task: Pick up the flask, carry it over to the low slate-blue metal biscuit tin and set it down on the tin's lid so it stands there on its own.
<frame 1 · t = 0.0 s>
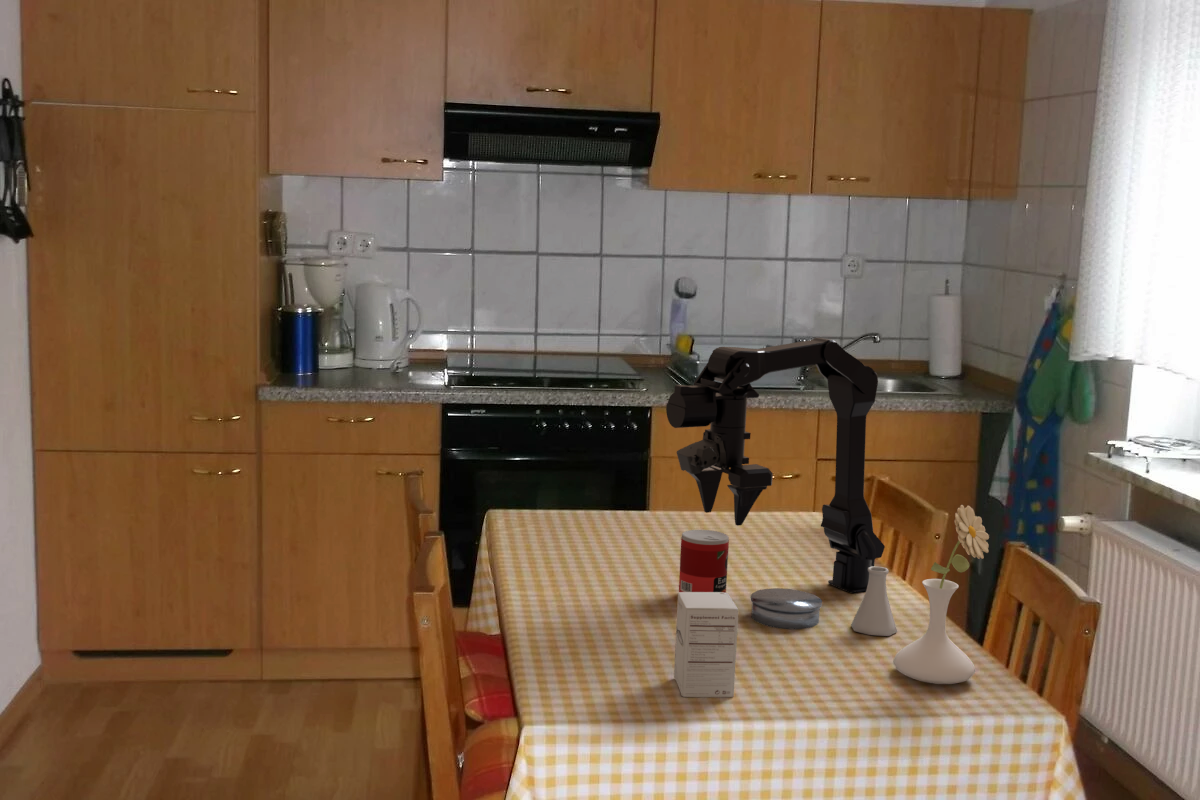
hand: (722, 518, 214), 15 cm above the table, fingers open, 9 cm apart
supplement box: (703, 689, 178), on the table
biscuit tin: (784, 619, 210), on the table
flask: (873, 631, 206), on the table
canned food: (701, 599, 219), on the table
flower in vase: (937, 677, 186), on the table
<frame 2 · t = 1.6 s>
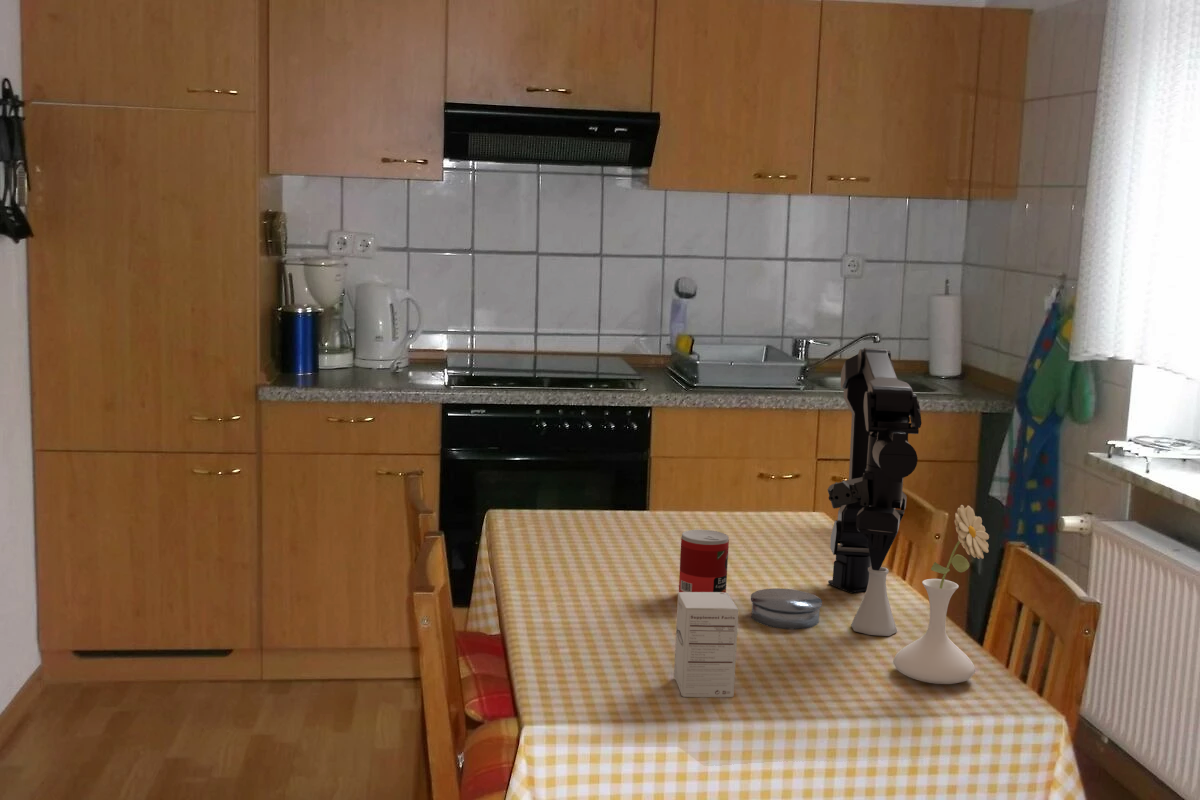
hand: (878, 562, 205), 11 cm above the table, fingers open, 9 cm apart
nothing on the table moved.
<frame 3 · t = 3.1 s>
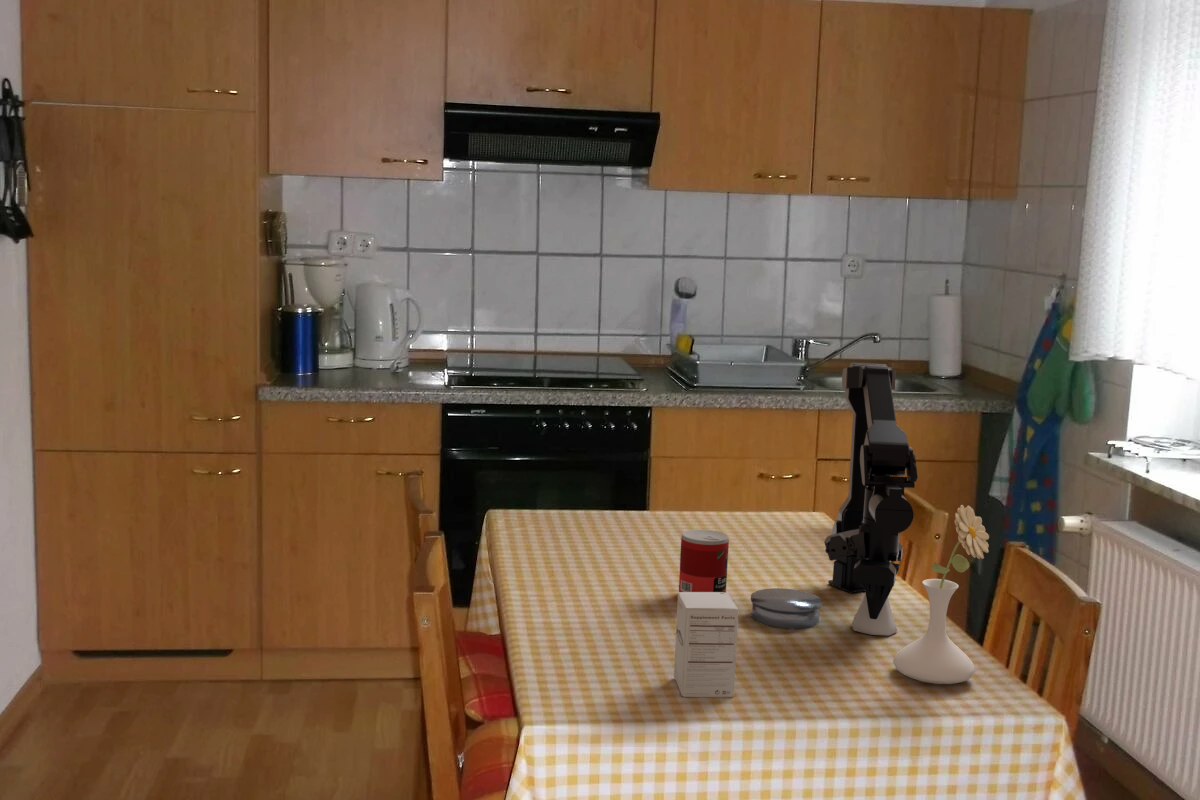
hand: (874, 613, 206), 3 cm above the table, fingers closed on flask, 5 cm apart
flask: (873, 630, 206), on the table, touching gripper
everything else where it was.
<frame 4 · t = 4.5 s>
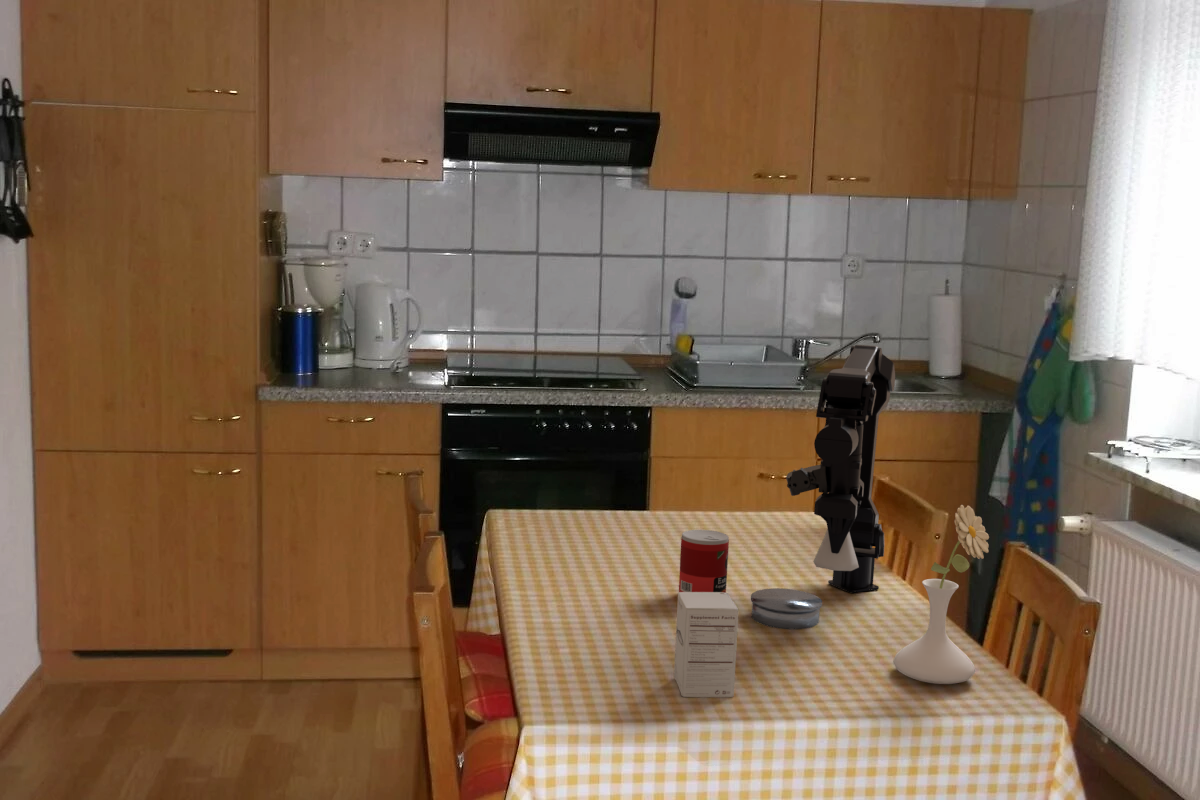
hand: (836, 548, 206), 12 cm above the table, fingers closed on flask, 5 cm apart
flask: (835, 567, 206), point 9 cm above the table, touching gripper
everything else where it was.
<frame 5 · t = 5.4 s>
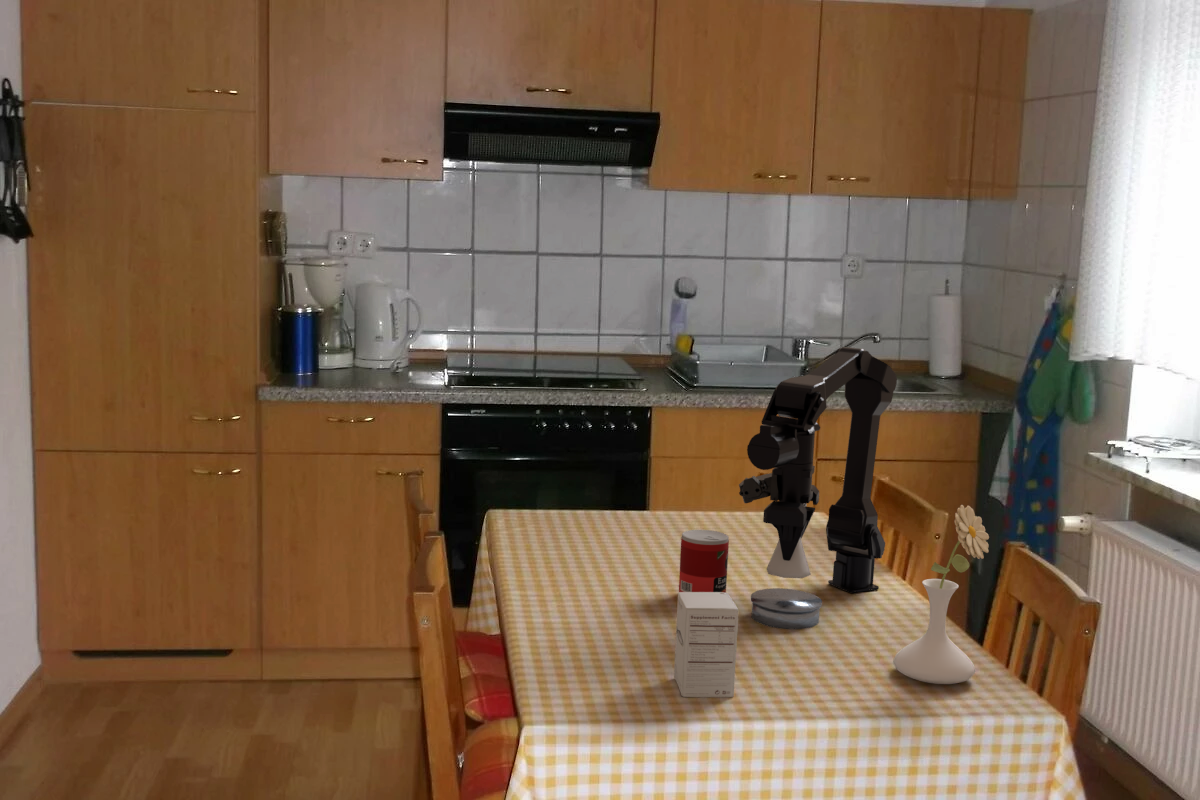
hand: (789, 556, 209), 10 cm above the table, fingers closed on flask, 5 cm apart
flask: (788, 574, 209), point 7 cm above the table, touching gripper
everything else where it was.
when the fingers open (7 cm above the table, at t = 6.2 s): flask drops 1 cm, resting on biscuit tin.
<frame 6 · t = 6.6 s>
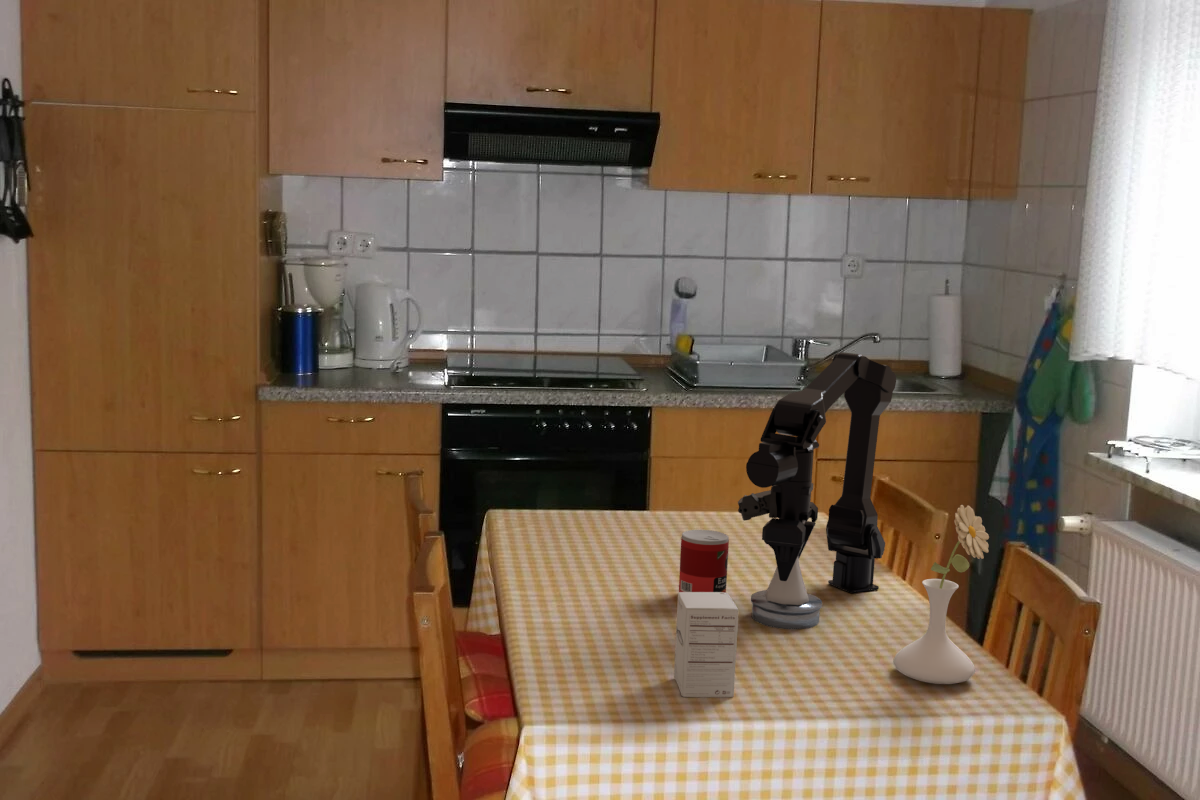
hand: (787, 573, 209), 7 cm above the table, fingers open, 9 cm apart
biscuit tin: (785, 620, 210), on the table, touching flask
flask: (786, 600, 210), point 3 cm above the table, touching biscuit tin
everything else where it was.
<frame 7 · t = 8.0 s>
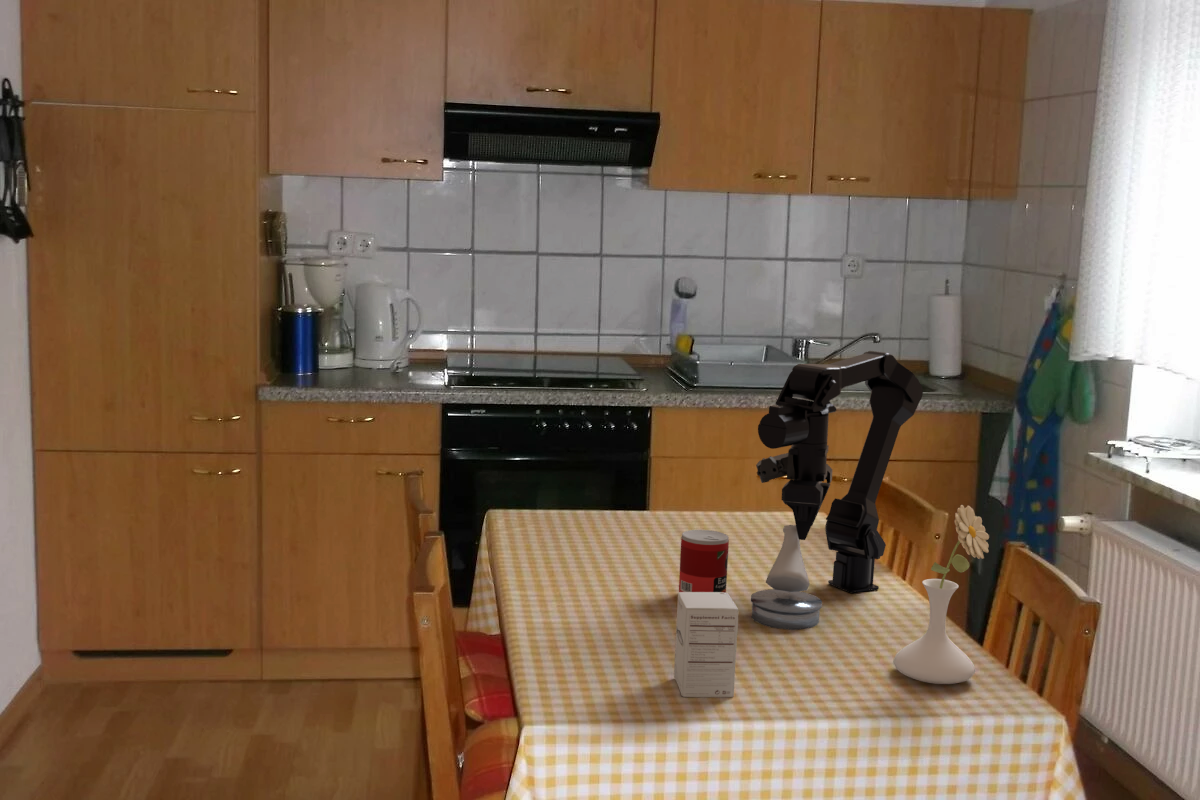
hand: (805, 532, 217), 12 cm above the table, fingers open, 9 cm apart
flask: (787, 585, 210), point 5 cm above the table, touching biscuit tin
everything else where it was.
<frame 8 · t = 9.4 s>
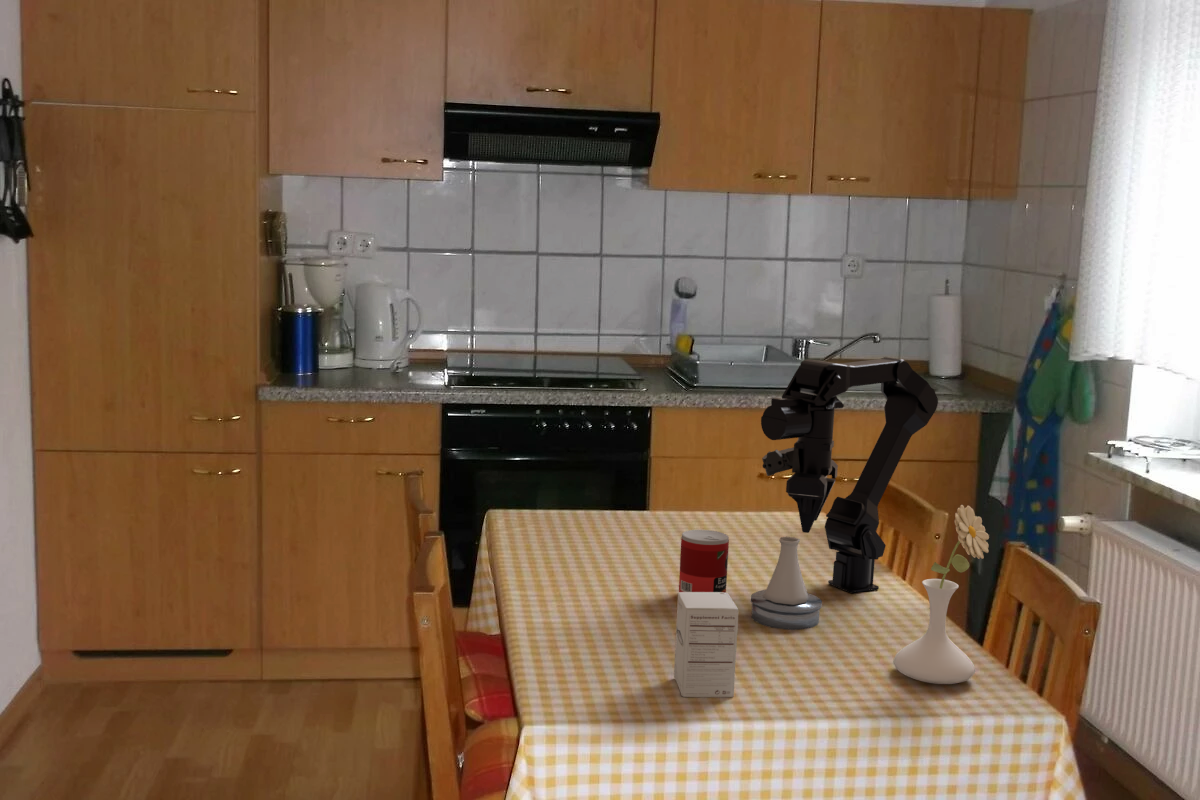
hand: (809, 526, 220), 13 cm above the table, fingers open, 9 cm apart
flask: (785, 600, 210), point 3 cm above the table, touching biscuit tin
everything else where it was.
at the end: flask inside the target area on the biscuit tin (0.2 cm from its centre), point 3.3 cm above the biscuit tin's base; flask tilted 0°; flask touching biscuit tin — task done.
